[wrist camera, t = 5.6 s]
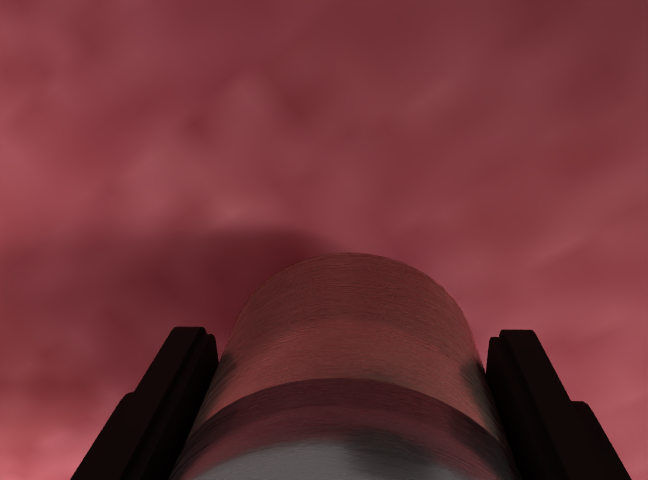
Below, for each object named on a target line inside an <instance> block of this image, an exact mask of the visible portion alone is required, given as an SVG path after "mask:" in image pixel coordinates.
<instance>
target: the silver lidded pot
mask: <svg viewBox="0 0 648 480" xmlns="http://www.w3.org/2000/svg"><path fill="white" fill-rule="evenodd" d="M168 480H523V479H522V477H521V475H520V473H519V471H518V469H517V466H516V463H515V460H514V457H513V454H512V451H511V448H510V445H509V442H508V439H507V436H506V433H505V430H504V427H503V424H502V421H501V418H500V415H499V412H498V409H497V406H496V403H495V400H494V397H493V394H492V391H491V388H490V385H489V382H488V379H487V376H486V374H485V371H484V368H483V365H482V362H481V359H480V356H479V353H478V350H477V347H476V344H475V341H474V338H473V335H472V332H471V329H470V326H469V323H468V321H467V319H466V317H465V315H464V313H463V311H462V310H461V309H460V307H459V306H458V304H457V303H456V301H455V300H454V299H453V298H452V297H451V296H450V294H449V293H448V292H447V291H446V290H445V289H444V288H443V287H442V286H440V285H439V284H438V283H437V282H435V281H434V280H433V279H432V278H430V277H429V276H427V275H425V274H424V273H422V272H420V271H419V270H417V269H415V268H413V267H411V266H408V265H406V264H404V263H402V262H399V261H396V260H392V259H389V258H386V257H382V256H376V255H370V254H361V253H339V254H328V255H323V256H318V257H313V258H310V259H307V260H304V261H301V262H298V263H296V264H293V265H291V266H289V267H287V268H285V269H283V270H281V271H280V272H278V273H277V274H275V275H274V276H272V277H270V278H269V279H268V280H267V281H266V282H264V283H263V284H262V285H261V286H260V287H259V288H258V289H257V290H256V291H255V292H254V293H253V294H252V296H251V297H250V298H249V299H248V301H247V302H246V304H245V306H244V307H243V309H242V310H241V312H240V315H239V317H238V319H237V321H236V324H235V326H234V328H233V331H232V333H231V336H230V338H229V340H228V343H227V345H226V347H225V350H224V352H223V355H222V357H221V359H220V362H219V364H218V366H217V369H216V371H215V374H214V376H213V378H212V381H211V383H210V386H209V388H208V390H207V393H206V395H205V397H204V400H203V402H202V405H201V407H200V409H199V412H198V414H197V416H196V419H195V421H194V424H193V426H192V428H191V431H190V433H189V435H188V438H187V440H186V443H185V445H184V447H183V449H182V450H181V452H180V454H179V456H178V458H177V461H176V463H175V465H174V467H173V470H172V472H171V474H170V477H169V479H168Z"/></svg>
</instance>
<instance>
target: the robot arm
mask: <svg viewBox="0 0 648 480" xmlns="http://www.w3.org/2000/svg"><path fill="white" fill-rule="evenodd" d="M218 364H219V361H218V354H217V347H216V341H215V337H214V335H213V334H206V331H205V328H203V327H174V328H173V330H172V331H171V333H170V334H169V336H168V337H167V339H166V341H165V342H164V344H163V346H162V347H161V349H160V350H159V352H158V354H157V355H156V357H155V359H154V360H153V362H152V363H151V365H150V367H149V368H148V370H147V372H146V373H145V375H144V376H143V378H142V380H141V381H140V383H139V385H138V386H137V388H136V389H135V391H134V392H130V393H128V394H126V395H125V396H124V397H123V398H122V399H121V401H120V402H119V404H118V405H117V407H116V408H115V410H114V412H113V413H112V415H111V416H110V418H109V419H108V421H107V423H106V424H105V426H104V427H103V429H102V430H101V432H100V434H99V435H98V437H97V438H96V440H95V441H94V443H93V445H92V446H91V448H90V449H89V451H88V452H87V454H86V456H85V457H84V459H83V460H82V462H81V463H80V465H79V467H78V468H77V470H76V471H75V473H74V474H73V476H72V478H71V479H70V480H168V479H169V477H170V474H171V472H172V470H173V467H174V465H175V463H176V461H177V458H178V456H179V454H180V452H181V450H182V449H183V447H184V445H185V443H186V440H187V438H188V435H189V433H190V431H191V428H192V426H193V424H194V421H195V419H196V416H197V414H198V412H199V409H200V407H201V405H202V402H203V400H204V397H205V395H206V393H207V390H208V388H209V386H210V383H211V381H212V378H213V376H214V374H215V371H216V369H217V366H218ZM486 376H487V379H488V382H489V385H490V388H491V391H492V394H493V397H494V400H495V403H496V406H497V409H498V412H499V415H500V418H501V421H502V424H503V427H504V430H505V433H506V436H507V439H508V442H509V445H510V448H511V451H512V454H513V457H514V460H515V463H516V466H517V469H518V471H519V473H520V475H521V477H522V479H523V480H632V479H631V478H630V476H629V474H628V472H627V471H626V469H625V467H624V465H623V464H622V462H621V460H620V458H619V457H618V455H617V453H616V451H615V450H614V448H613V446H612V444H611V443H610V441H609V439H608V437H607V436H606V434H605V432H604V430H603V429H602V427H601V425H600V423H599V422H598V420H597V418H596V416H595V415H594V413H593V411H592V410H591V408H590V407H589V406H588V404H586V403H585V402H583V401H571V400H570V398H569V396H568V394H567V392H566V391H565V389H564V387H563V385H562V383H561V381H560V379H559V377H558V375H557V374H556V372H555V370H554V368H553V366H552V364H551V362H550V360H549V358H548V357H547V355H546V353H545V351H544V349H543V347H542V345H541V343H540V341H539V340H538V338H537V336H536V334H535V332H534V331H533V330H501V332H500V334H499V337H491V338H490V340H489V348H488V357H487V367H486Z"/></svg>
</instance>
